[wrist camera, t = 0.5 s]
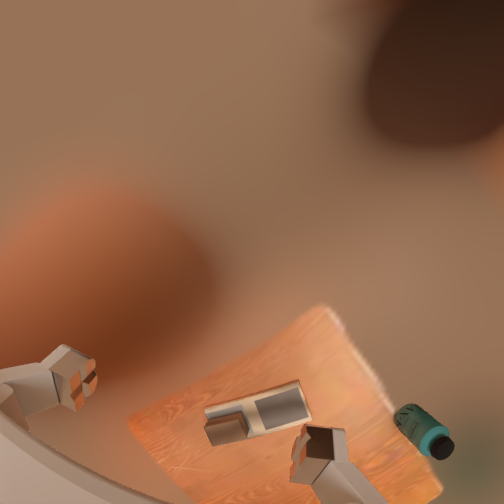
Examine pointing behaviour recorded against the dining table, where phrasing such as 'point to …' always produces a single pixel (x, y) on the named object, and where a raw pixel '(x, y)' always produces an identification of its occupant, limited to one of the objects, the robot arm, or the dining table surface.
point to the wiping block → (227, 428)
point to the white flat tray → (267, 409)
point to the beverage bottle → (424, 432)
